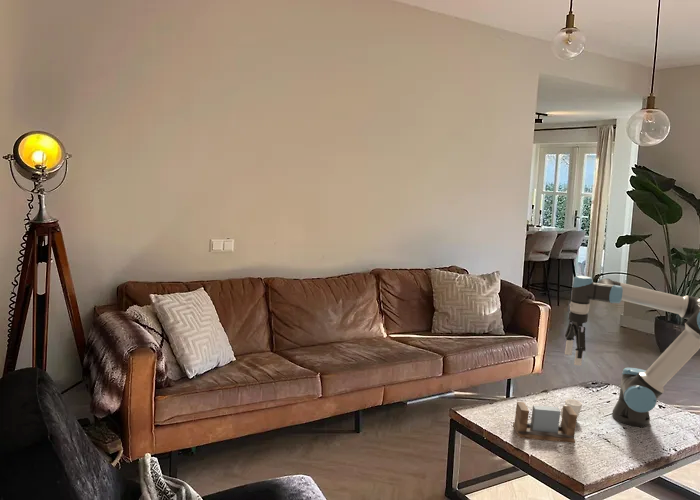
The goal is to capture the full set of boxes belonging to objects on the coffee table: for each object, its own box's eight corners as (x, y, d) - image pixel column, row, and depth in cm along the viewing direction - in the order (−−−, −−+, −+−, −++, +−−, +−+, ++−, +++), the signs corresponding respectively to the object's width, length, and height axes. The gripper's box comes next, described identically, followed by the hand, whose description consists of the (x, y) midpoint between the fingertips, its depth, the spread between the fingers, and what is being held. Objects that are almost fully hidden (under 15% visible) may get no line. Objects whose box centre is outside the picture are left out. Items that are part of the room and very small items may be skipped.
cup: (583, 422, 255) (585, 404, 254) (566, 425, 251) (568, 407, 250) (571, 415, 261) (573, 398, 260) (554, 418, 257) (556, 400, 256)
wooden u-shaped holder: (566, 429, 247) (569, 404, 245) (575, 443, 235) (578, 417, 233) (513, 424, 248) (516, 399, 246) (519, 437, 236) (522, 411, 234)
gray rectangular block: (554, 430, 243) (557, 407, 241) (557, 434, 239) (560, 411, 237) (530, 427, 243) (533, 405, 242) (532, 432, 239) (535, 409, 238)
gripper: (561, 304, 263) (555, 349, 267) (579, 319, 239) (572, 368, 242) (578, 305, 263) (572, 351, 266) (597, 320, 238) (591, 370, 242)
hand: (572, 359), depth 254 cm, fingers open, 13 cm apart
